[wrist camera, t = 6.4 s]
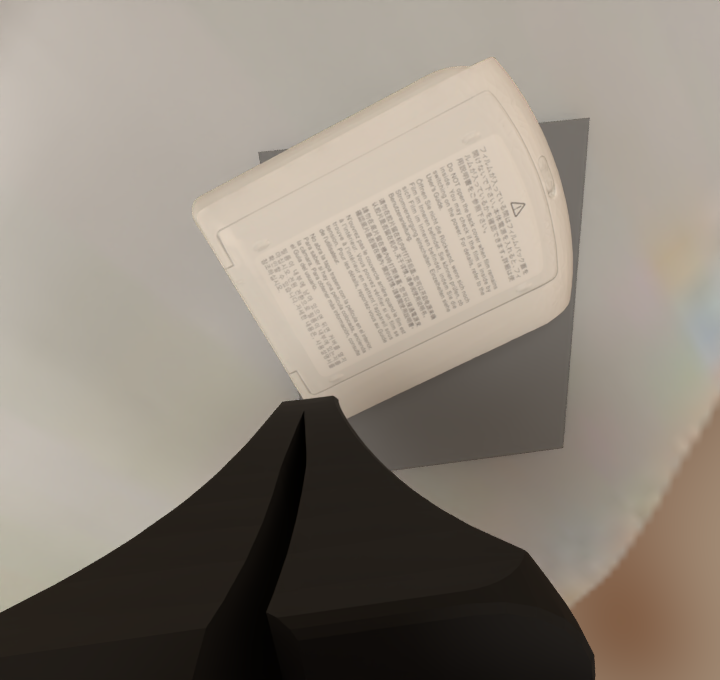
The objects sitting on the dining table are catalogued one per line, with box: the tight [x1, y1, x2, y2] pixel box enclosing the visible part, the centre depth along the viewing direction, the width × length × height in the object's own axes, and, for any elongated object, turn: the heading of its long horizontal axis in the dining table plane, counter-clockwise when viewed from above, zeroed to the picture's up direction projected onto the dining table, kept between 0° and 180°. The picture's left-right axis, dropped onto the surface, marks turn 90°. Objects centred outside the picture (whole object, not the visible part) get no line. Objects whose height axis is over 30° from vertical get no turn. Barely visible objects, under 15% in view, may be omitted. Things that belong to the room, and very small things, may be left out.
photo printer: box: [192, 57, 573, 419], centre depth 17 cm, size 10×4×12 cm
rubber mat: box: [258, 118, 590, 471], centre depth 20 cm, size 16×14×1 cm
